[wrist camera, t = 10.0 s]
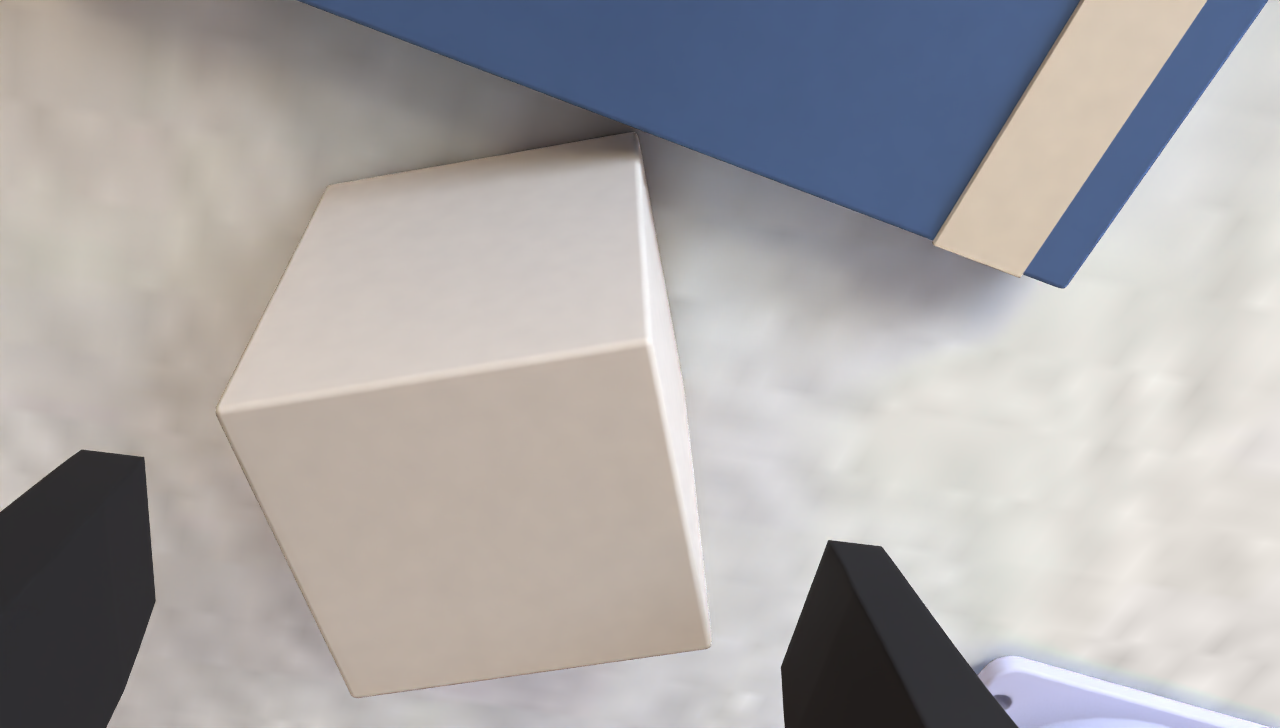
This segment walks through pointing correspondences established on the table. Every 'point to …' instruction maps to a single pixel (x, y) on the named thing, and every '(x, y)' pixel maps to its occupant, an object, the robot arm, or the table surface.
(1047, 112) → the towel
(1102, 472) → the table surface
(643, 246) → the white block
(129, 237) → the table surface
